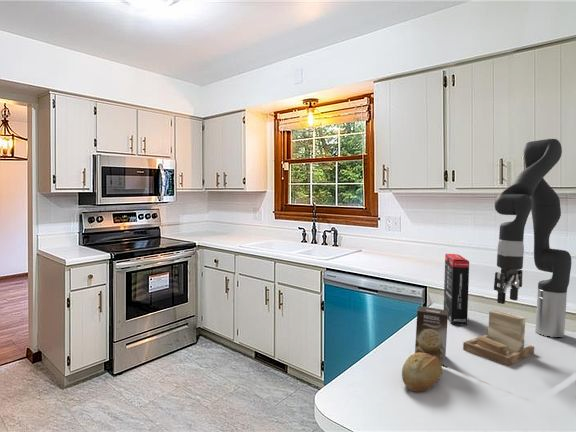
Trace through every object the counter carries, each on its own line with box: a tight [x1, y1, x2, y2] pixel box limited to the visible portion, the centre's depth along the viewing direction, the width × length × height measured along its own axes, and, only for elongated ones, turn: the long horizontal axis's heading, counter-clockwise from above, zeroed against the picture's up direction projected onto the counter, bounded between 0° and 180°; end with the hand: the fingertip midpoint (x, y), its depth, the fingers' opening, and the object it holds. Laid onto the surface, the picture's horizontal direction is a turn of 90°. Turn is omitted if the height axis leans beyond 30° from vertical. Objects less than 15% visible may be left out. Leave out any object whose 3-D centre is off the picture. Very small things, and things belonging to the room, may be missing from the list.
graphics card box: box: [443, 253, 470, 326], centre depth 160 cm, size 17×7×27 cm, turn 168°
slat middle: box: [475, 344, 510, 356], centre depth 121 cm, size 4×9×2 cm, turn 35°
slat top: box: [476, 337, 508, 353], centre depth 121 cm, size 4×8×2 cm, turn 23°
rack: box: [462, 333, 535, 367], centre depth 124 cm, size 17×14×4 cm
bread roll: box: [401, 352, 443, 392], centre depth 103 cm, size 10×15×8 cm, turn 143°
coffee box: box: [414, 305, 449, 367], centre depth 118 cm, size 9×6×16 cm
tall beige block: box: [487, 309, 526, 354], centre depth 126 cm, size 4×10×13 cm, turn 35°
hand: (507, 301), depth 126 cm, fingers open, 8 cm apart
